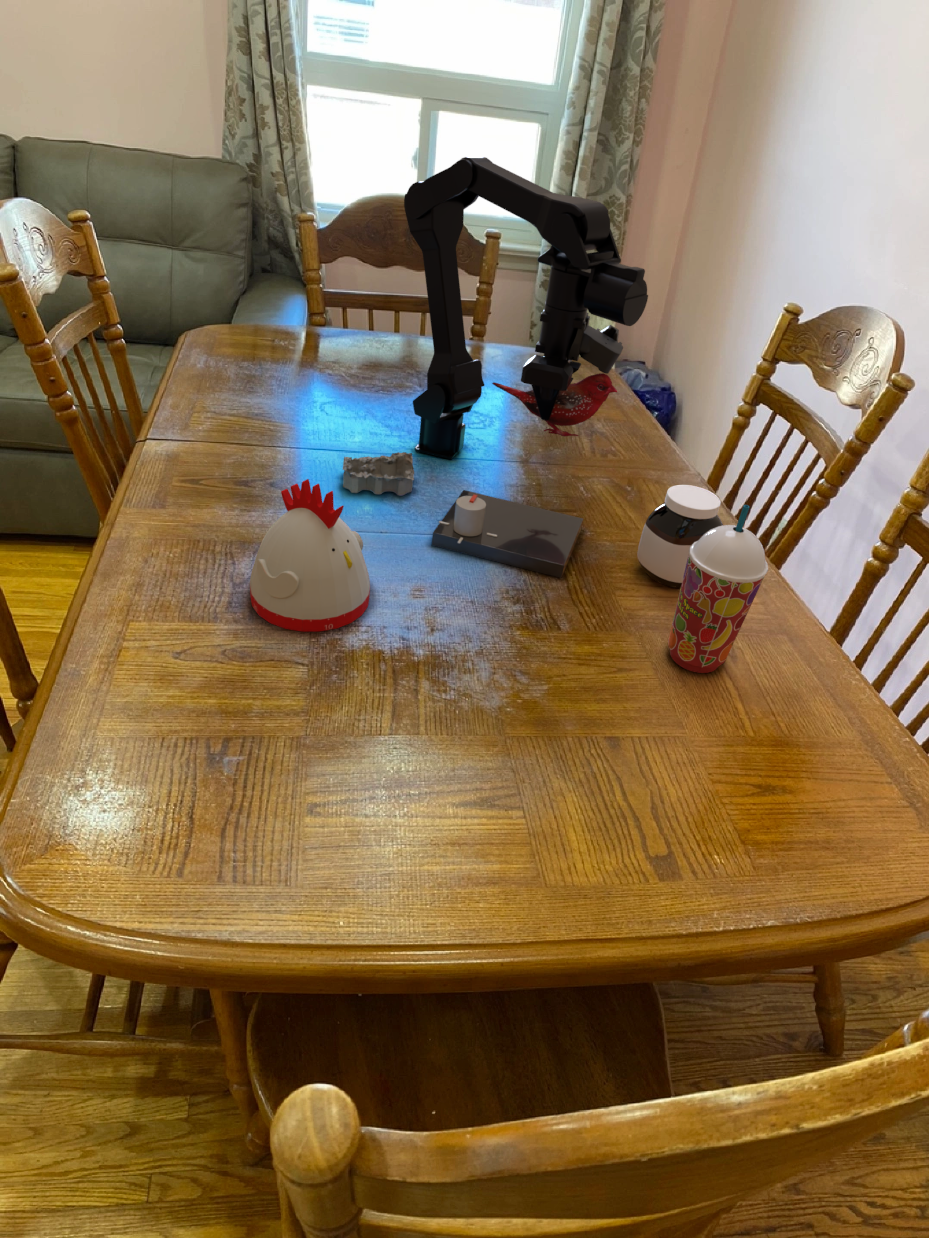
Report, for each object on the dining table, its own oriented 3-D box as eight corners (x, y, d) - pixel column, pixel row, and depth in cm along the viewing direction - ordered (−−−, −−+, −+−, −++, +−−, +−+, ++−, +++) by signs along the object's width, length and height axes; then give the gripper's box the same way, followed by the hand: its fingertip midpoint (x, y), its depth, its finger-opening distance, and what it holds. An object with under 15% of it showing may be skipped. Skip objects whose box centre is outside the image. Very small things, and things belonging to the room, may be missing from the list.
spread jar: (659, 595, 106) (683, 516, 99) (608, 552, 114) (627, 475, 107) (728, 579, 111) (755, 503, 105) (675, 539, 119) (697, 465, 112)
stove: (427, 548, 109) (429, 534, 108) (461, 501, 121) (463, 488, 120) (559, 582, 106) (562, 568, 105) (580, 530, 118) (583, 517, 117)
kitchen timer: (317, 647, 90) (317, 527, 81) (225, 600, 95) (216, 483, 86) (392, 593, 100) (399, 482, 91) (305, 553, 105) (304, 444, 97)
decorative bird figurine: (605, 447, 119) (621, 380, 113) (485, 427, 120) (494, 359, 114) (605, 439, 121) (621, 373, 115) (487, 419, 122) (496, 353, 116)
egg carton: (413, 476, 127) (415, 452, 124) (412, 499, 120) (414, 474, 118) (344, 470, 126) (344, 445, 123) (339, 492, 120) (340, 467, 117)
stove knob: (477, 539, 109) (481, 510, 106) (449, 532, 110) (452, 503, 107) (485, 526, 112) (489, 498, 110) (458, 519, 113) (461, 491, 110)
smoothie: (650, 635, 99) (695, 485, 87) (716, 637, 100) (769, 490, 88) (670, 680, 92) (721, 524, 80) (740, 682, 93) (801, 528, 81)
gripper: (617, 335, 101) (591, 452, 110) (633, 300, 116) (610, 406, 125) (529, 318, 103) (511, 435, 112) (556, 286, 118) (539, 391, 127)
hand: (547, 416), depth 119 cm, fingers closed on decorative bird figurine, 3 cm apart
